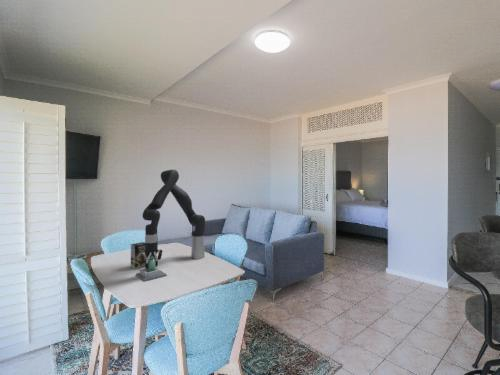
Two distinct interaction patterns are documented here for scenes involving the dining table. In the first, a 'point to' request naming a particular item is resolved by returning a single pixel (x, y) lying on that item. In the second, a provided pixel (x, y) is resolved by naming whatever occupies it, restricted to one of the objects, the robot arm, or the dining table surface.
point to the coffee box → (137, 255)
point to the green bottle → (151, 264)
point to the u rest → (150, 274)
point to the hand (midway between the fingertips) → (151, 267)
